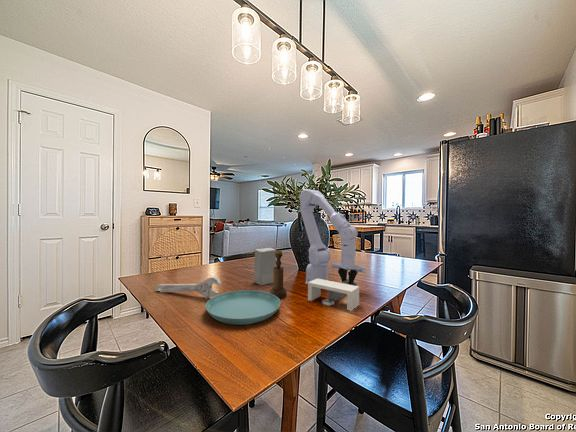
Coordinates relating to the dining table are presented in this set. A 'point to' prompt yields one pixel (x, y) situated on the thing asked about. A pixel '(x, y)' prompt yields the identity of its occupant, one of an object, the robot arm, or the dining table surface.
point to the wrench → (193, 287)
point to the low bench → (350, 290)
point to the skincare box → (264, 265)
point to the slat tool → (337, 295)
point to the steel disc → (327, 302)
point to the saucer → (242, 307)
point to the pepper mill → (278, 278)
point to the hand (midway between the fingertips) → (347, 287)
